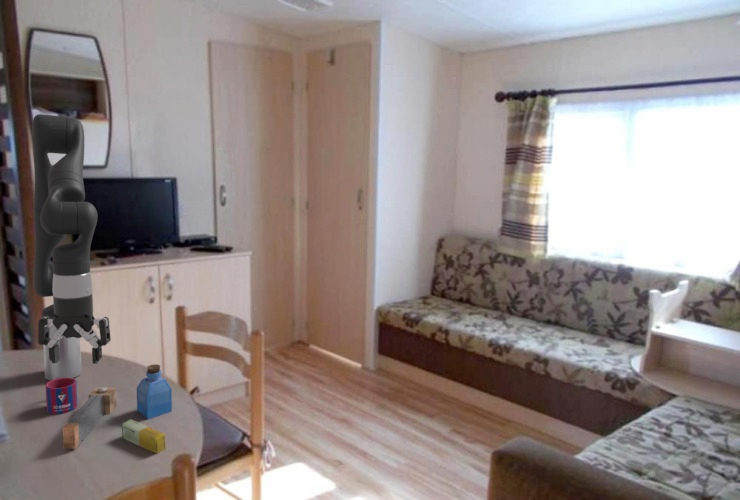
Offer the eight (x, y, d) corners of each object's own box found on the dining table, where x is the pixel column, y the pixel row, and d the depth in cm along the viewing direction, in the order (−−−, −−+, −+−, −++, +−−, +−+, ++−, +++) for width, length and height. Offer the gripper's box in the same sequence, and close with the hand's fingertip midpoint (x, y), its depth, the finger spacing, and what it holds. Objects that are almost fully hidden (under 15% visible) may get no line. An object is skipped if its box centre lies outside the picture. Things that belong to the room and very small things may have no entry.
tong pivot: (96, 405, 135) (95, 385, 134) (116, 405, 135) (115, 385, 134) (89, 413, 130) (88, 392, 130) (110, 413, 131) (109, 392, 130)
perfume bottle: (171, 411, 134) (171, 367, 132) (147, 419, 129) (146, 373, 127) (160, 403, 138) (159, 360, 136) (137, 410, 134) (136, 366, 132)
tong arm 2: (99, 413, 130) (98, 394, 129) (104, 413, 130) (103, 394, 129) (69, 448, 114) (68, 427, 114) (75, 448, 114) (74, 427, 114)
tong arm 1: (93, 413, 130) (92, 394, 129) (98, 413, 130) (97, 394, 129) (63, 448, 114) (62, 427, 113) (69, 448, 114) (68, 427, 114)
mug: (46, 416, 128) (45, 390, 127) (47, 399, 137) (45, 375, 135) (77, 411, 132) (76, 385, 131) (76, 394, 140) (75, 371, 139)
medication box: (121, 438, 120) (120, 423, 120) (131, 433, 123) (130, 418, 122) (156, 455, 115) (156, 438, 114) (166, 449, 117) (166, 433, 116)
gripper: (113, 289, 119) (115, 356, 122) (46, 287, 117) (50, 355, 120) (100, 297, 111) (102, 369, 114) (29, 296, 110) (33, 368, 112)
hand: (76, 362), depth 117 cm, fingers open, 8 cm apart
